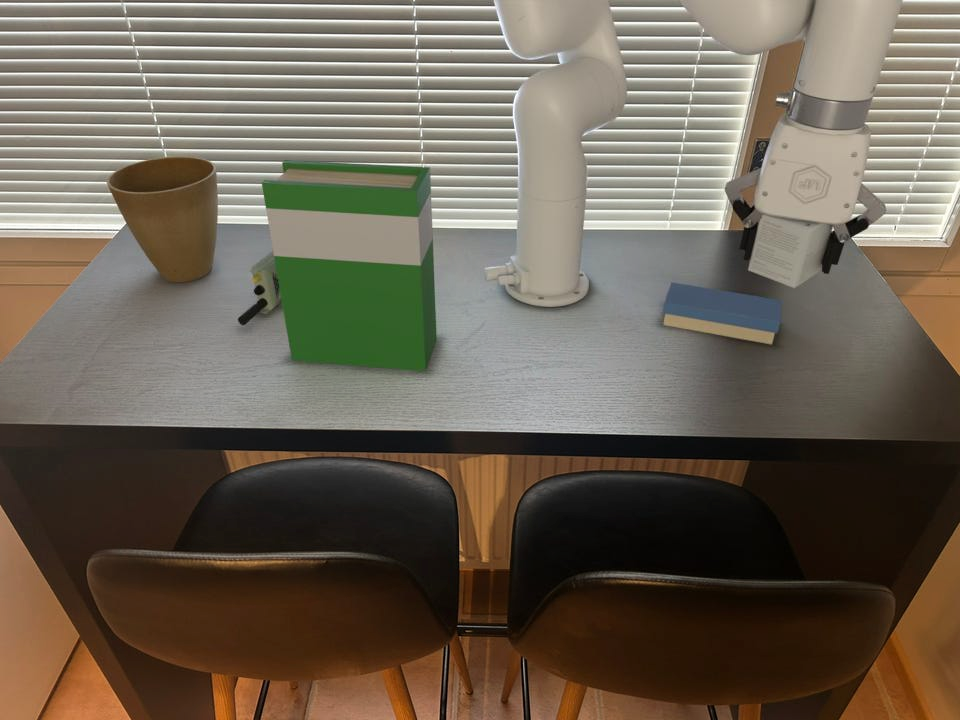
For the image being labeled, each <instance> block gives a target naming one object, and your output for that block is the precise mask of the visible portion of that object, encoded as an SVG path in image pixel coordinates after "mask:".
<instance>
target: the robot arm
mask: <svg viewBox="0 0 960 720" xmlns="http://www.w3.org/2000/svg"><path fill="white" fill-rule="evenodd" d="M903 1H904V0H678V2H679V3H680V4H681V5H682V7H683V8H684V9H685V10H686V12H688V13H689V14H690V16H691V17H692V18H693V19H694V20H695V21H696V22H697V23H698V25H699V26H700V27H701V28H702V29H703V30H704V31H705V32H706V33H707V34H708V36H709V37H711V38H712V39H713V40H714V41H715V42H716V43H717V44H719V45H720V46H721V47H723V48H725V49H726V50H728V51H729V52H732V53H734V54H737V55H740V56H756V55H760V54H763V53H766V52H768V51H771V50H774V49H775V48H777V47H780V46H784V45H790V44H792V43H796V42H804V45H803V50H802V54H801V57H800V60H799V61H800V62H799V65H798V70H797V72H796V73H797V74H796V78H795V82H794V84H793V89H789V91H785V92H779V91H778V92H777V94H776V98H775V103H774V106H775V107H776V106H777V107H781V108H782V109H785V112H787V113H783V114H782V115H780V117H779V119H778V121H777V122H776V124H775V127H774V129H773V132H772V134H771V137H770V140H769V142H768V145H767V147H766V150H765V154H764V157H763V160H762V164H761V167H760V168H758V169H755V170H753V171H750V172H748V173H746V174H743V175H741V176H738V177H736V178H734V179H731V180H729V181H727V182H726V184H725V185H724V192H725V195H726V196H727V199H728V201H729V203H730V205H731V208H732V210H733V212H734V213H735V215H737V217H738V218H739V219H740V221H741V222H742V226H743V229H742V234H741V239H740V243H739V247H738V249H739V250H742V251H744V253H743V259H742V260H743V261H746V262H747V261H750V259H751V254H752V250H753V245H754V241H755V237H756V233H757V229H758V224H759V220H760V219H761V218H762V215H770V216H776V217H782V218H789V219H795V220H802V221H809V222H815V223H823V224H831V225H832V226H833V228H832V229H833V230H832V231H831V234H830V238H829V241H828V244H827V247H826V251H825V254H824V257H823V260H822V264H821V273H823V274H826V275H829V274H830V272H831V268H832V265H833V266H838V265H839V262H840V258H841V256H842V253H843V250H844V245H845V243H848V242H849V241H850V239H852V238H853V237H855V236H857V235H858V234H861V233H862V232H865V231H866V230H868V229H869V226H870V225H872V224H874V223H875V222H877V221H878V220H879V219H880V218H882V217H883V216H885V214H887V207H886V204H885V203H884V202H883V201H882V200H881V199H880V198H879V197H877V196H876V195H875V194H874V192H872V191H871V190H870V189H869V188H868V187H867V186H866V185H864V184H863V179H864V176H865V171H866V167H867V163H868V158H869V152H870V146H871V137H872V130H871V128H870V126H869V125H867V124H866V121H867V118H868V116H869V111H870V108H871V105H872V102H873V100H874V95H875V92H876V89H877V85H878V82H879V79H880V76H881V72H882V70H883V67H884V64H885V60H886V58H887V57H886V56H887V54H888V50H889V47H890V43H891V41H892V38H893V35H894V32H895V31H894V30H895V28H896V25H897V21H898V19H899V15H900V11H901V8H902V6H903V5H902V4H903ZM493 4H494V7H495V11H496V14H497V18H498V22H499V26H500V28H501V32H502V35H503V39H504V41H505V43H506V46H507V47H508V49H509V51H510V52H511V53H512V54H513V55H514V56H516V57H517V58H519V59H522V60H537V59H538V60H539V59H542V58H543V59H544V58H547V57H551V56H554V55H557V58H558V61H559V64H556V65H553V66H551V67H547V68H544V69H542V70H540V71H538V72H535V73H534V74H532V75H531V76H529V77H528V78H527V79H526V80H525V81H524V82H523V83H522V84H520V87H519V88H518V90H517V91H516V94H515V96H514V99H513V103H512V119H513V120H512V121H513V126H514V132H515V138H516V143H517V144H516V148H517V165H518V166H517V209H516V210H517V211H516V212H517V213H516V214H517V216H516V219H517V220H516V243H515V244H516V246H515V248H516V249H515V254H514V255H510V256H509V262H506V263H504V264H503V265H501V266H490V267H485V268H483V277H484V280H485V282H489V281H497V284H498V286H499V287H504V288H505V291H506V293H508V295H510V296H511V297H512V298H513V299H515V300H517V301H519V302H521V303H524V304H528V305H531V306H537V307H545V308H554V307H555V308H556V307H563V306H564V307H565V306H568V305H573V304H575V303H577V302H579V301H581V300H582V299H583V298H585V296H587V295H588V292H589V291H590V290H589V289H590V280H589V278H588V276H587V275H586V273H584V272H583V271H582V270H581V263H582V261H581V260H582V250H583V239H584V226H585V214H586V203H587V202H586V201H587V191H588V189H587V187H588V164H587V160H586V156H585V153H584V149H583V145H582V141H583V140H582V139H583V137H584V136H586V135H588V134H589V133H592V132H594V131H596V130H599V129H601V128H603V127H605V126H607V125H609V124H611V123H612V122H614V121H616V119H617V118H618V117H619V116H620V115H621V113H622V112H623V110H624V108H625V106H626V102H627V99H628V98H627V97H628V82H627V76H626V75H627V74H626V70H625V65H624V61H623V57H622V53H621V48H620V44H619V39H618V35H617V30H616V26H615V21H614V17H613V13H612V10H611V5H610V3H609V0H493ZM754 186H755V192H754V196H753V197H754V198H753V203H752V204H751V205H749V204H748V202H747V201H746V200H745V198H744V197H743V195H742V193H741V192H742V191H745V190H747V189H750V188H752V187H754ZM857 202H860V203H861V205H863V206H864V207H865V208H866V210H865V211H863V212H862V214H861V213H860V214H859V215H857V216H855V217H853V218H852V216H853V214H854V211H855V207H856V205H857Z"/></svg>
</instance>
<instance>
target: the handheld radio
mask: <svg viewBox="0 0 960 720" xmlns="http://www.w3.org/2000/svg"><path fill="white" fill-rule="evenodd" d="M249 272H250V273H251V274H252V277H251V279H252V282H254V288H253V294H255V296H256V297H257V301H256V303H255V304H253V305H251V307H249V308H248V309H247V310H246V311H245V312H243V313H242V314H241V315H240V316H238V318H237V323H238V324H239V325H240V326H245V325H246V324H248V323H249V322H250V321H251V320H253V318H254V317H255V316H257V315H258V314H264V315H267V314H269V313H270V312H271V311H272V310H273V309H275V308H276V307H277V306H278V305H280V303H282V299H281V294H280V288H279V282H278V276H277V270H276V264H275V258H274V253H273V250H272V251H269V253H268V254H267V255H265V256H264V257H263V258H261V259H260V260H259V261H258V262H256V263H255V264H254V265H252V266H251V269H250V270H249Z"/></svg>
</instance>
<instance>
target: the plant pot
mask: <svg viewBox="0 0 960 720" xmlns="http://www.w3.org/2000/svg"><path fill="white" fill-rule="evenodd" d="M217 176H218V175H217V167H216V165H215V163H214V162H212V161H211V160H209V159H205V158H202V157H196V156H185V155H183V156H181V155H179V156H165V157H164V156H163V157H154V158H150V159H145V160H140V161H137V162H134V163H130V164H127V165H125V166H123V167H121V168H118V169H117V170H115V171H113V172H112V173H111V174H109V175H108V176H107V178H106V185H107V186H108V189H109V192H110V193H111V196H112V197H113V199H114V201H115V203H116V206H117V208H118V211H119V212H120V214H121V216H122V218H123V220H124V222H125V223H126V225H127V227H128V229H129V231H130V232H131V234H132V235H133V237H134V239H135V240H136V242H137V244H138V246H139V247H140V249H141V250H142V252H143V253H144V254H145V256H146V257H147V258H148V260H149V261H150V262H151V264H152V266H153V267H154V269H155V270H157V272H158V273H159V274H160V276H161V277H162V278H163V279H164V280H166V281H167V282H172V283H188V282H192V281H197V280H199V279H202V278H204V277H206V276H207V275H208V274H210V272H211V271H212V268H213V263H214V257H215V252H216V245H217V234H218V220H219V219H218V218H219V217H218V216H219V193H218V177H217Z"/></svg>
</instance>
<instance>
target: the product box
mask: <svg viewBox="0 0 960 720" xmlns="http://www.w3.org/2000/svg"><path fill="white" fill-rule="evenodd" d="M833 229H834V228H833V226H832V225H831V224H823V223H815V222H809V221H802V220H795V219H789V218H782V217H776V216H770V215H762V218H761V219H760V220H759V221H758V227H757V233H756V237H755V241H754V245H753V249H752V253H751V257H750V260H749V264H748V267H747V270H748V272H752V273H754V274H756V275H759V276H761V277H763V278H764V277H765V278H767V279H770V280H772V281H775V282H777V283H779V284H783V285H785V286H787V287H790V288H792V289H796V288H797V287H799V286H800V285H801V284H804V283H805V282H806V281H808V280H809V279H811V278H812V277H813V276H815V275H817V274H818V273H820V271H821V269H822V260H823V257H824V254H825V251H826V247H827V244H828V241H829V238H830V234H831V233H832V232H833Z"/></svg>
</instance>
